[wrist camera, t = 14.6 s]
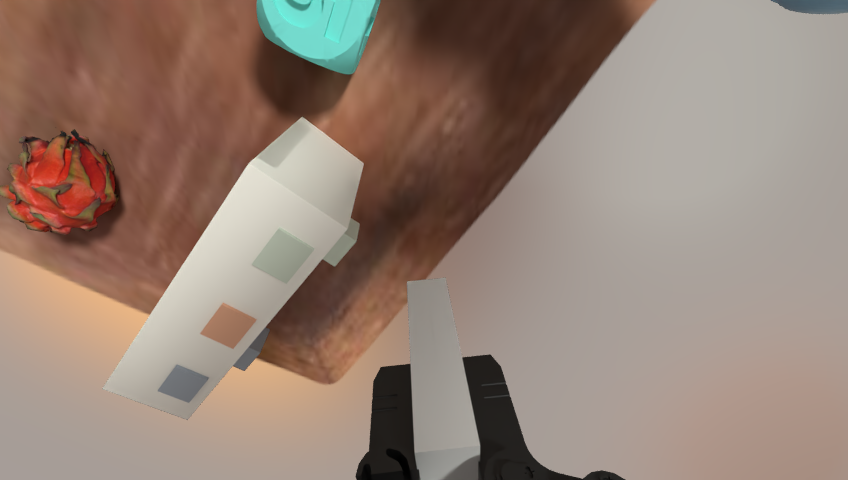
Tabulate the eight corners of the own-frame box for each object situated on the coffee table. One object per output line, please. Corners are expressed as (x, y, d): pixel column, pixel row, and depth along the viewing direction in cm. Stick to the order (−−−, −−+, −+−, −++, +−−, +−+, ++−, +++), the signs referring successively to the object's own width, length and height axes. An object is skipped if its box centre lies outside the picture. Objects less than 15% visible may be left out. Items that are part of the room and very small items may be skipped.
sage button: (317, 195, 35) (309, 210, 32) (359, 223, 37) (356, 241, 34) (297, 221, 36) (288, 238, 33) (339, 247, 38) (334, 266, 35)
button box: (302, 116, 38) (247, 164, 24) (363, 163, 41) (347, 230, 27) (187, 285, 48) (99, 391, 34) (244, 314, 51) (185, 422, 37)
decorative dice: (357, 71, 37) (347, 79, 30) (277, 32, 35) (247, 32, 28) (386, -16, 33) (384, -29, 26) (300, -65, 31) (273, -93, 24)
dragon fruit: (81, 211, 43) (114, 122, 41) (118, 254, 41) (157, 163, 38) (-27, 207, 36) (5, 97, 33) (11, 260, 33) (49, 146, 30)
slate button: (229, 309, 41) (216, 332, 38) (270, 329, 43) (260, 352, 40) (215, 328, 42) (201, 352, 39) (255, 347, 44) (244, 371, 41)
